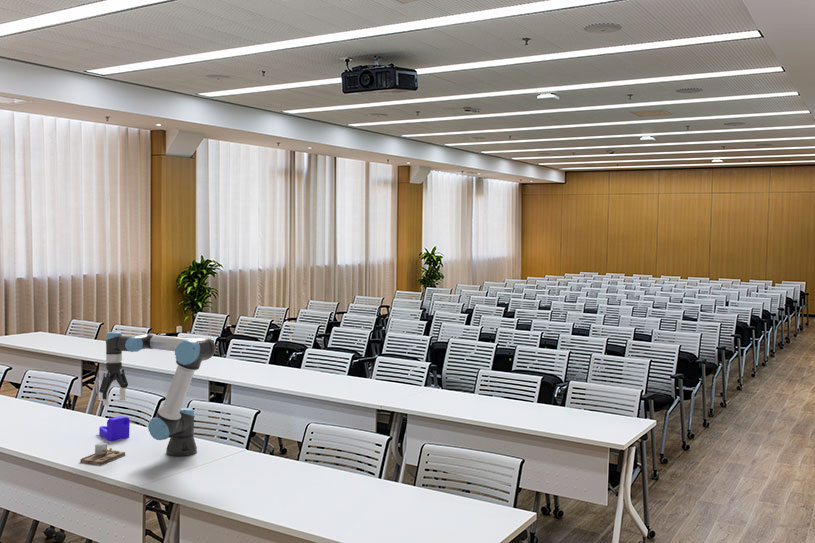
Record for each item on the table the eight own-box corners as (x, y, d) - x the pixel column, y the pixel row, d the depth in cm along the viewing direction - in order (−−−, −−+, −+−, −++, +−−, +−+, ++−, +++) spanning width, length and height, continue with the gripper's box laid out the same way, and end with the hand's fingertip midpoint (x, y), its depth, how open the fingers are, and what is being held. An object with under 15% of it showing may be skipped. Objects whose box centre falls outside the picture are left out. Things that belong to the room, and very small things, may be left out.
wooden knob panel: (125, 455, 365) (125, 450, 365) (101, 465, 348) (101, 459, 348) (104, 452, 368) (104, 447, 368) (80, 462, 351) (80, 457, 351)
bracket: (129, 437, 398) (129, 416, 398) (111, 441, 389) (112, 420, 389) (109, 432, 408) (110, 411, 408) (92, 435, 399) (92, 414, 399)
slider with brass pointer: (116, 454, 360) (116, 444, 359) (110, 456, 356) (111, 446, 356) (100, 452, 362) (100, 442, 362) (94, 454, 358) (95, 444, 358)
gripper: (122, 358, 385) (122, 397, 385) (91, 365, 360) (91, 407, 361) (135, 358, 383) (135, 398, 383) (104, 365, 359) (104, 408, 359)
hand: (114, 402), depth 372 cm, fingers open, 13 cm apart
